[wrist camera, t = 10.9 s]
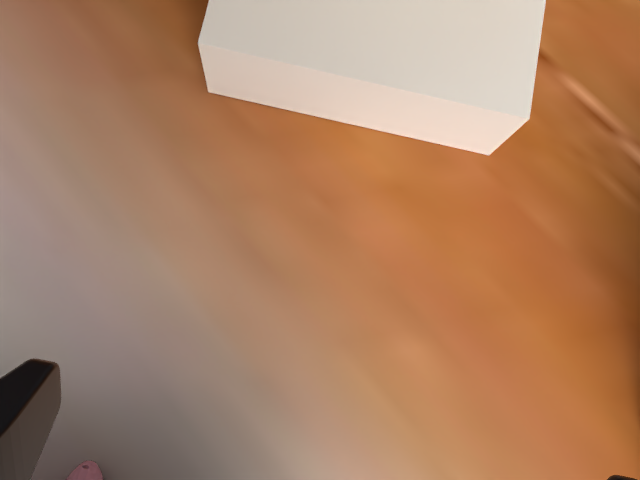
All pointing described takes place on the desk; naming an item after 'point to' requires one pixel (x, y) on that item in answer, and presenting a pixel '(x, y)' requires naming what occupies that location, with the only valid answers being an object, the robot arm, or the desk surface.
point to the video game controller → (86, 472)
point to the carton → (382, 63)
